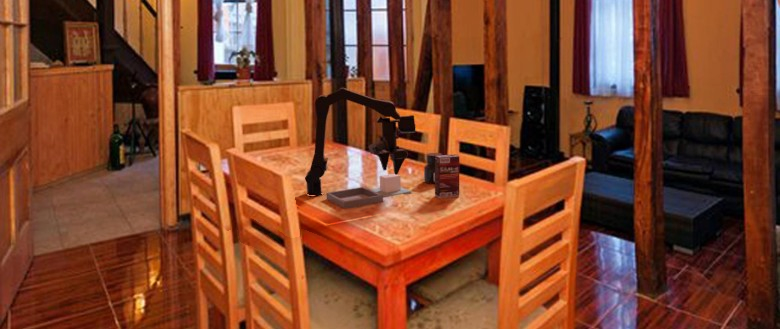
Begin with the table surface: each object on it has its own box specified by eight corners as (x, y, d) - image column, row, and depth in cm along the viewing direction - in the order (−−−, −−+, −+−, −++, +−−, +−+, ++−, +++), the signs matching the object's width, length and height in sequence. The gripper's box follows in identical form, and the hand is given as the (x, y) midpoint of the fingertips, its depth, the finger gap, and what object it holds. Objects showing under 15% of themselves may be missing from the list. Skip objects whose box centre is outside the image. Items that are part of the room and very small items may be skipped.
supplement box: (439, 198, 210) (438, 158, 207) (434, 195, 214) (434, 155, 211) (460, 196, 212) (460, 156, 209) (455, 193, 217) (455, 153, 213)
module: (380, 190, 222) (379, 175, 220) (395, 187, 225) (394, 173, 224) (385, 192, 218) (385, 178, 216) (400, 190, 221) (400, 175, 220)
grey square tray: (326, 200, 212) (326, 192, 212) (363, 194, 220) (363, 186, 219) (344, 210, 199) (343, 202, 198) (383, 203, 206) (382, 195, 206)
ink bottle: (439, 185, 230) (438, 157, 228) (420, 183, 235) (419, 155, 232) (448, 180, 238) (448, 153, 236) (430, 178, 243) (430, 151, 240)
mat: (370, 191, 224) (370, 189, 224) (396, 187, 229) (395, 185, 229) (384, 197, 213) (384, 195, 213) (411, 193, 219) (411, 191, 219)
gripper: (360, 132, 221) (361, 171, 224) (382, 138, 205) (384, 179, 208) (384, 130, 226) (385, 167, 229) (408, 135, 210) (409, 175, 213)
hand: (390, 172), depth 220 cm, fingers open, 9 cm apart
